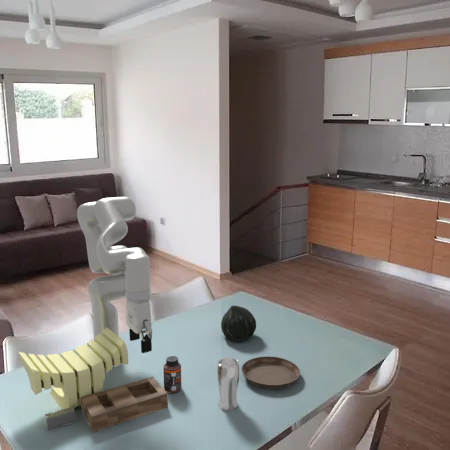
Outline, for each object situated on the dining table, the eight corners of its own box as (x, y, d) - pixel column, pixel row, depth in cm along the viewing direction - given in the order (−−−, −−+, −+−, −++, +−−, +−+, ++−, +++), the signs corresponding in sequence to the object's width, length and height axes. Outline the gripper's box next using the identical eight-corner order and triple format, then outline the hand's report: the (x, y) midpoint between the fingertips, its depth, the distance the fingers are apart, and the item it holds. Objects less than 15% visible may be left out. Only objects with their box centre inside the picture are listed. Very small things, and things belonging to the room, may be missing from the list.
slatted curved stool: (38, 426, 144) (33, 371, 141) (23, 402, 157) (18, 351, 153) (129, 392, 162) (127, 343, 159) (109, 373, 175) (106, 327, 171)
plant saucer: (267, 358, 186) (267, 350, 185) (311, 377, 172) (311, 369, 171) (229, 377, 172) (229, 369, 171) (274, 400, 158) (274, 391, 157)
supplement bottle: (178, 394, 161) (177, 363, 158) (161, 392, 162) (160, 361, 160) (183, 385, 166) (183, 355, 164) (167, 383, 168) (166, 353, 165)
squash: (268, 324, 203) (247, 295, 206) (250, 338, 191) (228, 307, 194) (246, 338, 211) (226, 310, 214) (228, 353, 199) (207, 323, 201)
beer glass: (216, 399, 158) (216, 357, 155) (237, 398, 158) (238, 356, 155) (218, 412, 151) (217, 368, 148) (240, 411, 152) (240, 367, 149)
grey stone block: (46, 426, 144) (45, 414, 144) (73, 418, 148) (72, 406, 148) (48, 431, 142) (47, 419, 141) (75, 422, 146) (74, 410, 145)
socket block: (81, 411, 151) (80, 397, 150) (152, 389, 164) (152, 376, 163) (93, 432, 141) (92, 417, 140) (167, 407, 154) (167, 393, 153)
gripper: (117, 287, 153) (119, 338, 157) (137, 305, 139) (139, 360, 142) (139, 283, 157) (141, 332, 160) (161, 300, 142) (163, 353, 146)
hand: (140, 345), depth 151 cm, fingers open, 9 cm apart
